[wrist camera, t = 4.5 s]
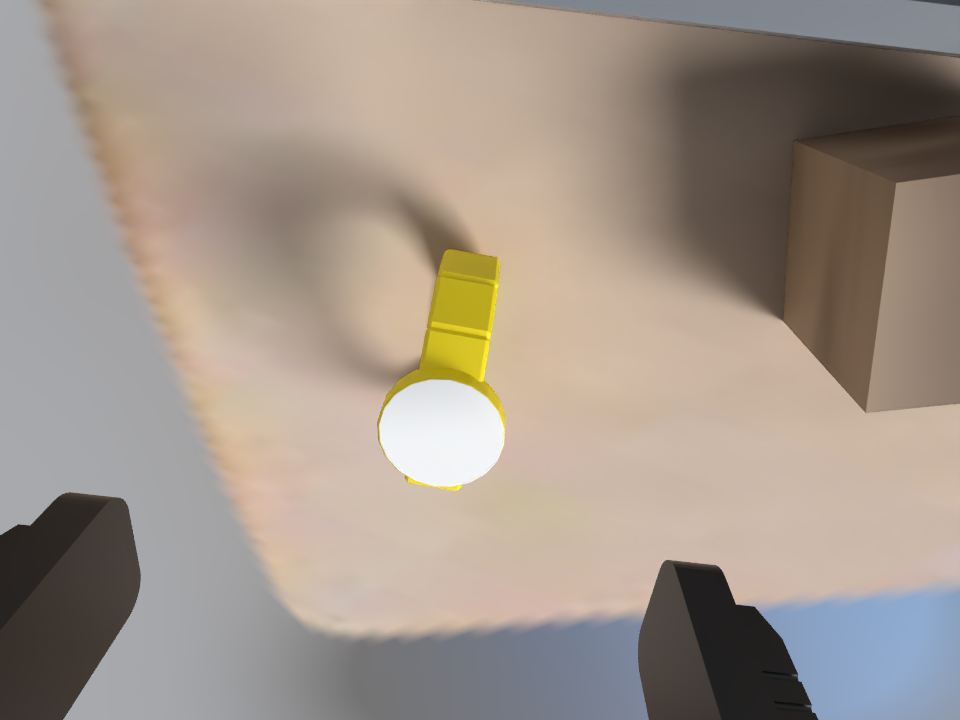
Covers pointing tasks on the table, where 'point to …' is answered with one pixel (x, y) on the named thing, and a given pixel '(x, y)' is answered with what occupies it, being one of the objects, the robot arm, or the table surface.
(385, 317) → the table surface
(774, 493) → the table surface
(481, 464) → the watch
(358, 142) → the table surface
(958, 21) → the slate tray
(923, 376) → the walnut block
